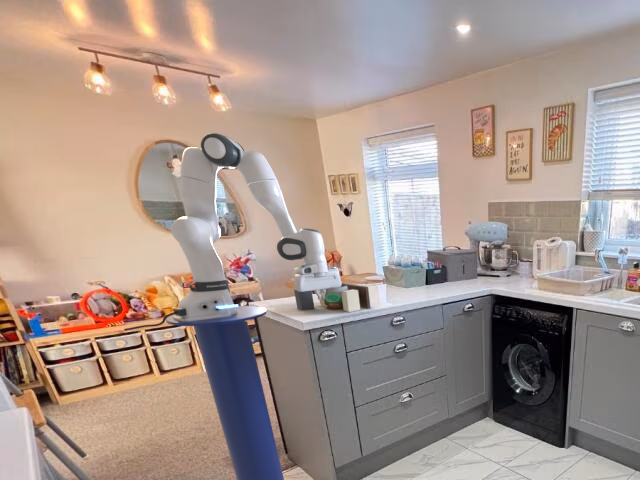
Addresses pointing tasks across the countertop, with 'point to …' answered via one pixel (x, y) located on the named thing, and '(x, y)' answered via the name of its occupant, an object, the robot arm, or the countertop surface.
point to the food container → (334, 297)
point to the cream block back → (322, 301)
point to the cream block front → (350, 300)
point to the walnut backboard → (360, 294)
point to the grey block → (304, 300)
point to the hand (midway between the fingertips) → (321, 299)
